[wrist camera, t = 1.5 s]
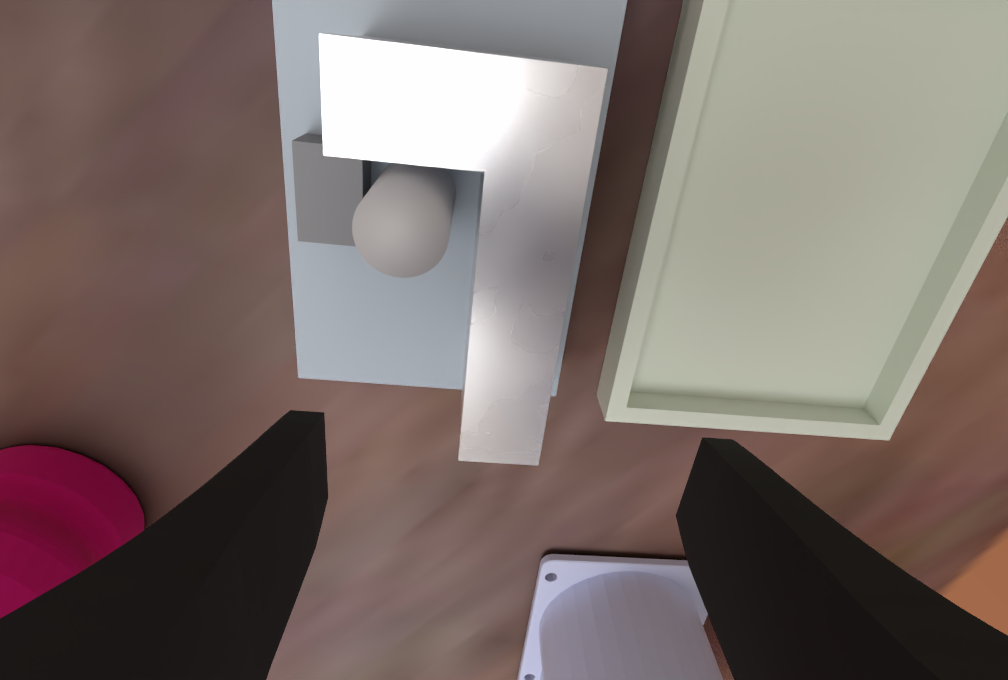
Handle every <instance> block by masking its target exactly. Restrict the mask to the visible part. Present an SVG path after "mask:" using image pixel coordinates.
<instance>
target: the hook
mask: <svg viewBox="0 0 1008 680" xmlns="http://www.w3.org/2000/svg"><path fill="white" fill-rule="evenodd" d="M319 50H320V77H321V104H322V130H323V155H324V156H334V157H343V158H353V159H363V160H372V161H382V162H391V163H401V164H411V165H420V166H430V167H439V168H449V169H459V170H468V171H478V172H481V174H480V185H479V196H478V208H477V219H476V231H475V242H474V253H473V265H472V276H471V287H470V299H469V310H468V321H467V333H466V344H465V355H464V367H463V379H462V399H461V418H460V437H459V456H458V461H473V462H489V463H506V464H522V465H538V464H539V458H540V453H541V447H542V441H543V436H544V430H545V424H546V419H547V413H548V407H549V402H550V396H551V390H552V384H553V379H554V373H555V367H556V362H557V356H558V350H559V345H560V339H561V333H562V328H563V322H564V316H565V310H566V305H567V299H568V293H569V288H570V282H571V276H572V271H573V265H574V259H575V254H576V248H577V242H578V236H579V231H580V225H581V219H582V214H583V208H584V202H585V197H586V191H587V185H588V180H589V174H590V168H591V162H592V157H593V151H594V145H595V140H596V134H597V128H598V123H599V117H600V111H601V106H602V100H603V94H604V88H605V83H606V77H607V71H608V69H607V68H602V67H598V66H593V65H588V64H583V63H579V62H573V61H565V60H557V59H549V58H540V57H532V56H524V55H516V54H508V53H500V52H491V51H483V50H475V49H467V48H459V47H451V46H442V45H434V44H426V43H418V42H410V41H401V40H393V39H385V38H377V37H369V36H358V35H339V34H320V33H319Z"/></svg>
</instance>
